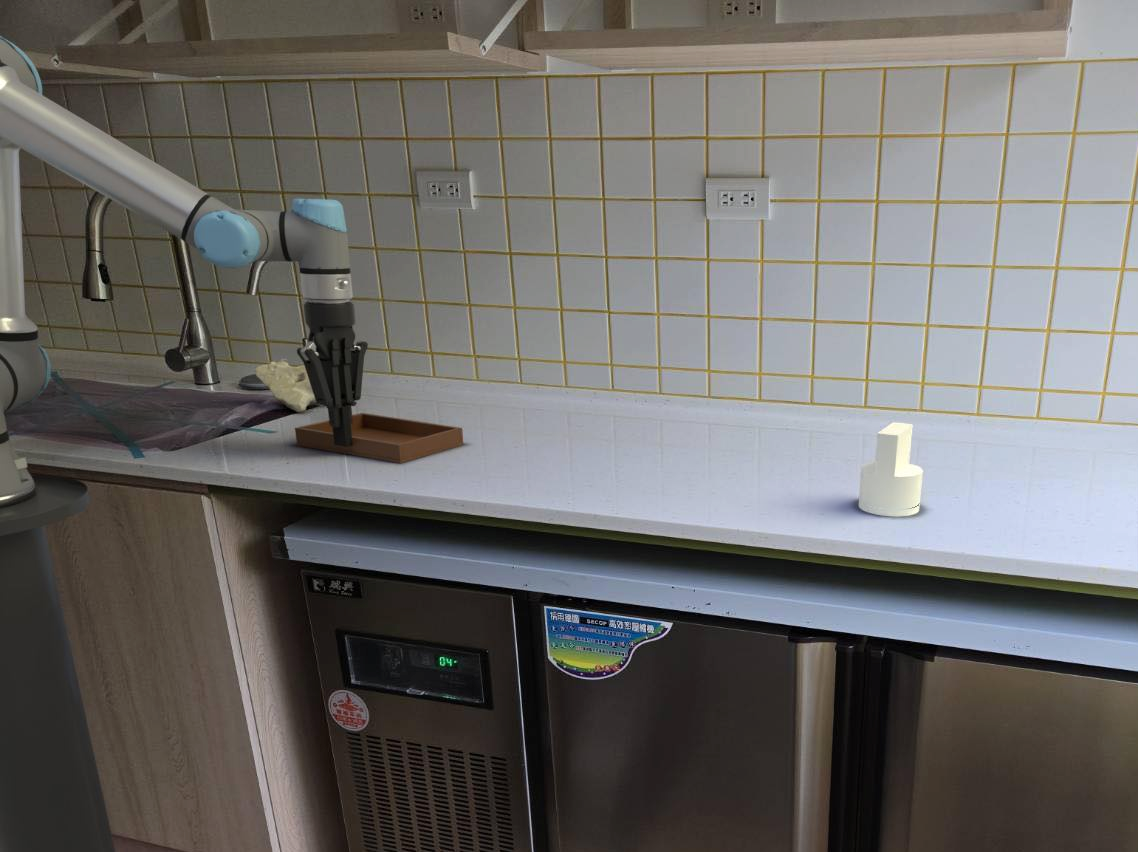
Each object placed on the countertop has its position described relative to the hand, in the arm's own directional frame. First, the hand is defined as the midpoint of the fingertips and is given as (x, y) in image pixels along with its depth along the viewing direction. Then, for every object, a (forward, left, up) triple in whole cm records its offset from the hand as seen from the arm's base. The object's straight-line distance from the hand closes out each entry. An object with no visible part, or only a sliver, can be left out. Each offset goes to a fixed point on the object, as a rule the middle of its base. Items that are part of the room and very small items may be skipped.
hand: (343, 444), depth 165 cm
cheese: (+23, +39, -2) cm, 46 cm away
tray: (+9, 0, -2) cm, 9 cm away
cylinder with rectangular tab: (+18, -90, -2) cm, 92 cm away
